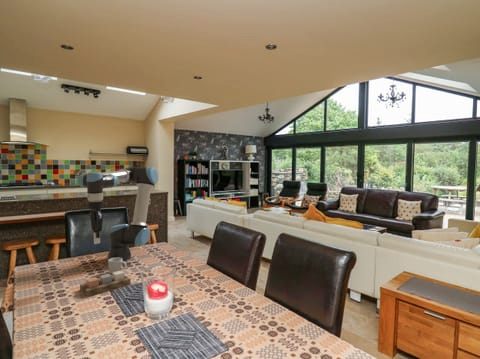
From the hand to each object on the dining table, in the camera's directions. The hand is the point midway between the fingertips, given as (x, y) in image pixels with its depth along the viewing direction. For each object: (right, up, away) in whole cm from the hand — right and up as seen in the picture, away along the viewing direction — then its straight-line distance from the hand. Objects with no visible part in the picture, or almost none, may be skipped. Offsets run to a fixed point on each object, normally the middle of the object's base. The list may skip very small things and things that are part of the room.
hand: (97, 243), depth 156 cm
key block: (+8, -21, -7) cm, 24 cm away
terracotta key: (+4, -20, -12) cm, 24 cm away
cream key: (+13, -20, -2) cm, 24 cm away
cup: (+5, -21, +13) cm, 25 cm away
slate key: (+8, -20, -7) cm, 23 cm away
